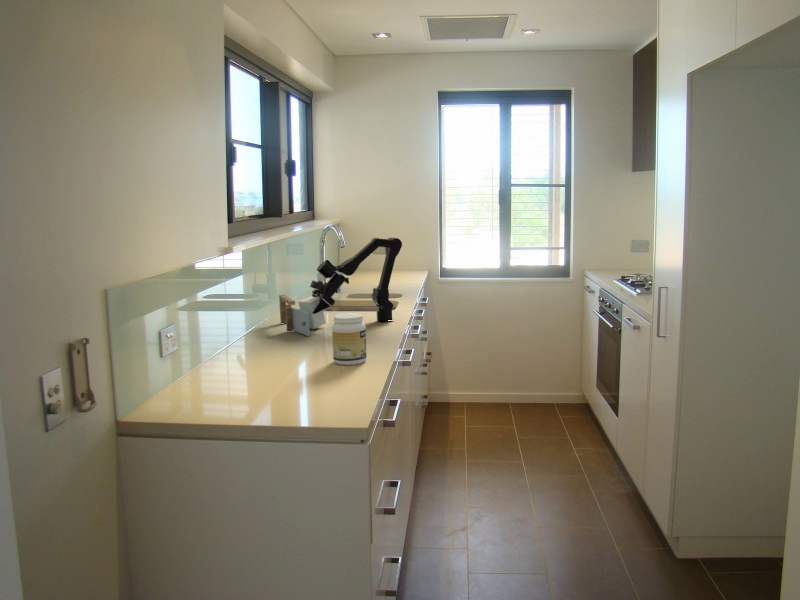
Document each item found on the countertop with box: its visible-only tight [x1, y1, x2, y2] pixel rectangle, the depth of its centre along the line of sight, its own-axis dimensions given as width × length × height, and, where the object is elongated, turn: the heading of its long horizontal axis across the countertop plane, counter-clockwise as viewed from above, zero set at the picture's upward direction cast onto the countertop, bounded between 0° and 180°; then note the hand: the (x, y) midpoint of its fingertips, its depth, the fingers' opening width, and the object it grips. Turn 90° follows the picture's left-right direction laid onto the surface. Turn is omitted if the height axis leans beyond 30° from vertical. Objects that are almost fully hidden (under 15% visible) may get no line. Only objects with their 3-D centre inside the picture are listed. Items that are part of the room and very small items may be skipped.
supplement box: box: [298, 296, 327, 330], centre depth 313 cm, size 7×7×13 cm
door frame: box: [278, 294, 296, 332], centre depth 318 cm, size 22×4×14 cm, turn 22°
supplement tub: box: [331, 312, 368, 366], centre depth 251 cm, size 12×12×17 cm
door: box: [291, 307, 311, 337], centre depth 303 cm, size 16×2×10 cm, turn 32°
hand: (311, 311), depth 313 cm, fingers closed on supplement box, 9 cm apart
